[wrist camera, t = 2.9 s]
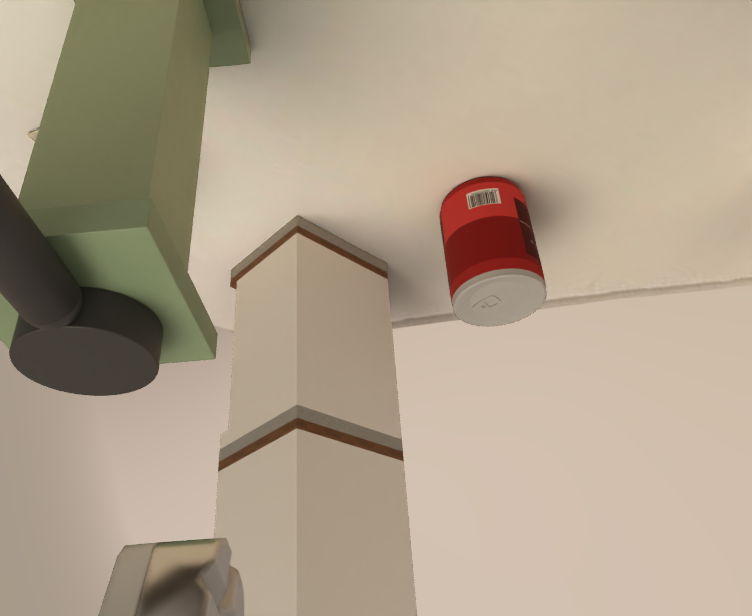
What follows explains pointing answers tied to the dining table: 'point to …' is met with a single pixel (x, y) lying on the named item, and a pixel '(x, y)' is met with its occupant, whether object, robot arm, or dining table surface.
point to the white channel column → (314, 434)
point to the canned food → (491, 253)
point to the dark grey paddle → (70, 317)
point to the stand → (131, 155)
